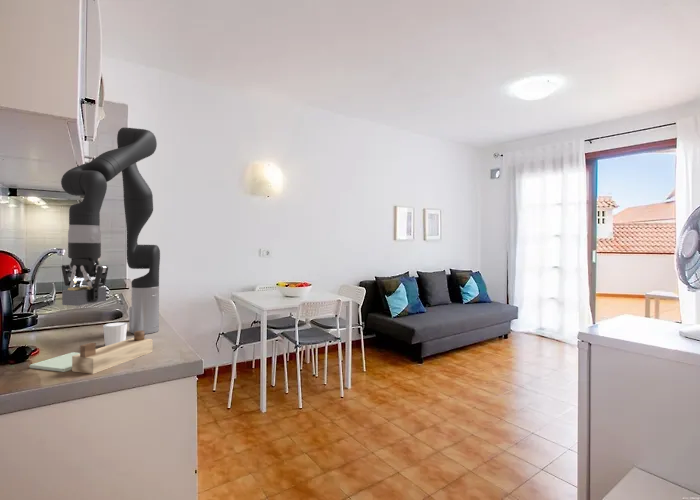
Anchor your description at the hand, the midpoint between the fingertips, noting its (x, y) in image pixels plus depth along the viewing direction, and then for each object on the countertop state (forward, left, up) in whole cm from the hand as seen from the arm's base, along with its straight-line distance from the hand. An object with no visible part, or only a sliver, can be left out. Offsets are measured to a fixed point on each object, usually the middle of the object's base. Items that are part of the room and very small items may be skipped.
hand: (84, 301), depth 104 cm
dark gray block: (0, 0, 0) cm, 0 cm away
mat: (-4, -2, -17) cm, 18 cm away
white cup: (-7, +16, -18) cm, 25 cm away
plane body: (+7, +3, -17) cm, 19 cm away
